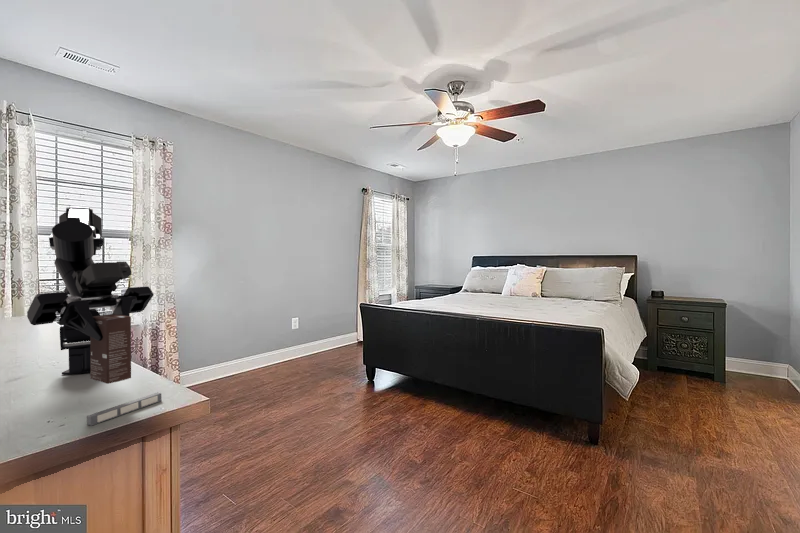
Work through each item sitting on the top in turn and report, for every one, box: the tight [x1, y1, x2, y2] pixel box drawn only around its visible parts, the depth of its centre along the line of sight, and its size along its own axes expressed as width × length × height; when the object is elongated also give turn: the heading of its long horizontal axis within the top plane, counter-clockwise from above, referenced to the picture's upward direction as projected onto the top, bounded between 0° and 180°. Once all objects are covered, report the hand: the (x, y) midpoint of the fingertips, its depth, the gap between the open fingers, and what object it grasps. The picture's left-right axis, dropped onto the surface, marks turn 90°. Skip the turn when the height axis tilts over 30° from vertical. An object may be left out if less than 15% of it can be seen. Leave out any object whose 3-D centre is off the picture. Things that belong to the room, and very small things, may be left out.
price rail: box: [86, 391, 162, 427], centre depth 68 cm, size 1×12×2 cm, turn 156°
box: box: [89, 313, 132, 384], centre depth 70 cm, size 6×4×12 cm
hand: (114, 336), depth 70 cm, fingers closed on box, 4 cm apart
